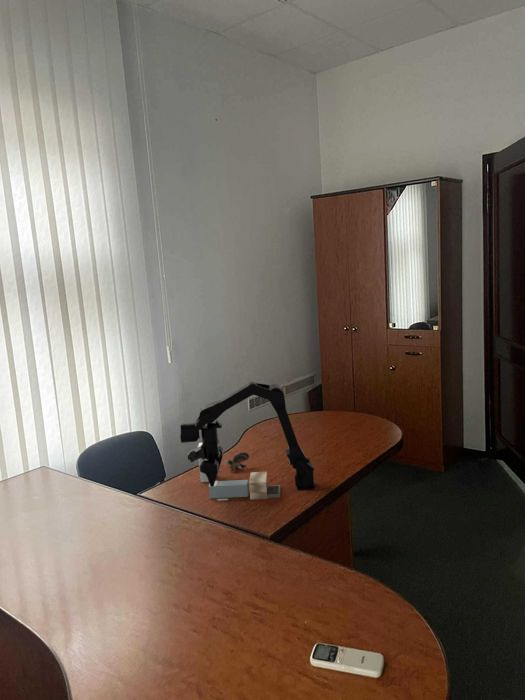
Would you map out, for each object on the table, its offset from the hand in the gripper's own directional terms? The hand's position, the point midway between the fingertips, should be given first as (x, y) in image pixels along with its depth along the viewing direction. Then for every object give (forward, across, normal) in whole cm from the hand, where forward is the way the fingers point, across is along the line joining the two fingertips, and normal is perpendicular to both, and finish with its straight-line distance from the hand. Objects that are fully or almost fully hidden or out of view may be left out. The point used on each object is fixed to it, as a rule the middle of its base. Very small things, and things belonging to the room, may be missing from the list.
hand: (213, 481), depth 200 cm
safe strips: (+6, 0, +3) cm, 7 cm away
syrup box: (+6, -16, -5) cm, 18 cm away
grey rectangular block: (+6, 0, +5) cm, 8 cm away
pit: (+6, 0, +21) cm, 22 cm away
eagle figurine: (+6, -25, +6) cm, 27 cm away
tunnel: (+6, 0, +16) cm, 17 cm away
